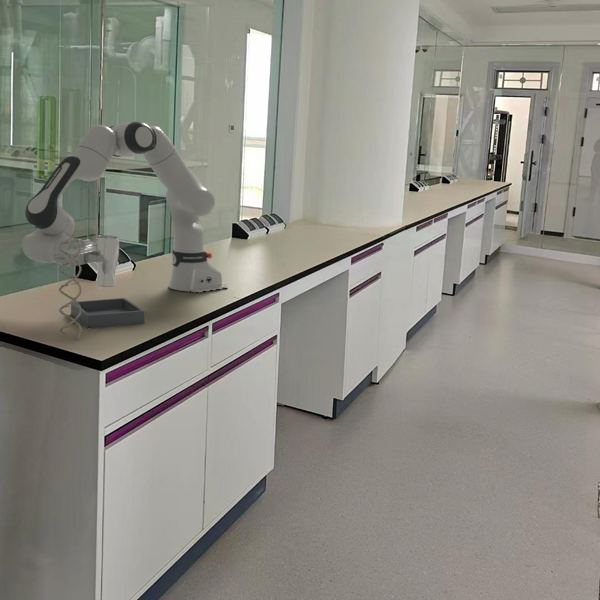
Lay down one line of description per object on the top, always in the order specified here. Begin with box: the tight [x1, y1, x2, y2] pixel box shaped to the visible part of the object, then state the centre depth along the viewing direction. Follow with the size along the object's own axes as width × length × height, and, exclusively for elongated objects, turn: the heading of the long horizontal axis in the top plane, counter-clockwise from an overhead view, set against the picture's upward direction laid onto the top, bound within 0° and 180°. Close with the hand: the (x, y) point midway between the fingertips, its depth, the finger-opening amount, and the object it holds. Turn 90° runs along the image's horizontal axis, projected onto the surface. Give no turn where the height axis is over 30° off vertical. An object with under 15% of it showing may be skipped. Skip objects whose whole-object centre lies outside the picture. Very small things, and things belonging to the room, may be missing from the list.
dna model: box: [58, 232, 83, 341], centre depth 204 cm, size 7×6×30 cm
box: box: [70, 297, 145, 329], centre depth 228 cm, size 18×18×4 cm
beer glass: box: [95, 234, 120, 288], centre depth 225 cm, size 7×7×15 cm
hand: (109, 257), depth 224 cm, fingers closed on beer glass, 6 cm apart
